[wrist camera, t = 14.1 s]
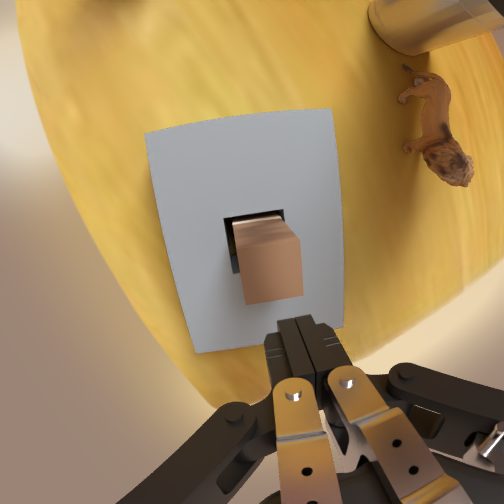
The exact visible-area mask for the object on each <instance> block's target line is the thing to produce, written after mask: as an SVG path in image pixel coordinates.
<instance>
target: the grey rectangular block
mask: <svg viewBox="0 0 504 504" xmlns="http://www.w3.org/2000/svg"><path fill="white" fill-rule="evenodd" d="M145 141H146V147H147V154H148V160H149V166H150V172H151V177H152V183H153V188H154V193H155V198H156V203H157V208H158V213H159V218H160V223H161V227H162V232H163V236H164V240H165V245H166V249H167V253H168V257H169V261H170V265H171V269H172V273H173V277H174V281H175V284H176V288H177V292H178V295H179V299H180V303H181V306H182V310H183V313H184V316H185V320H186V323H187V326H188V330H189V333H190V336H191V339H192V342H193V346H194V349H195V352H196V354H197V353H205V352H213V351H221V350H228V349H234V348H241V347H247V346H253V345H259V344H264V340H265V337H266V335H267V334H269V333H274V332H278V330H277V320H282V319H288V318H294V317H298V316H303V315H308V314H311V315H312V317H313V319H314V321H315V323H316V324H320V323H325V324H327V325H328V326H330V327H331V328H333V329H337V328H341V327H343V322H344V241H343V218H342V201H341V188H340V176H339V165H338V155H337V146H336V138H335V130H334V123H333V116H332V109H305V110H288V111H276V112H265V113H255V114H247V115H239V116H232V117H225V118H218V119H212V120H206V121H201V122H195V123H190V124H185V125H180V126H175V127H171V128H166V129H162V130H158V131H153V132H149V133H145ZM272 210H275V212H276V213H277V214H278V216H280V217H281V219H282V220H283V221H284V222H285V223H286V224H287V226H288V227H289V228H290V229H291V230H292V231H293V232H294V233H295V235H296V236H297V237H298V238H299V239H300V246H301V260H302V275H303V292H304V296H298V297H293V298H287V299H282V300H276V301H270V302H264V303H258V304H252V305H245V299H244V293H243V287H242V280H241V274H240V269H239V263H238V256H237V255H232V256H231V251H230V245H229V239H228V233H227V227H226V221H225V218H228V217H234V216H240V215H246V214H253V213H259V212H266V211H272Z"/></svg>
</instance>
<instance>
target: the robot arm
mask: <svg viewBox="0 0 504 504" xmlns="http://www.w3.org/2000/svg"><path fill="white" fill-rule="evenodd" d="M368 14H369V19H370V22H371V24H372V26H373V28H374V30H375V31H376V33H377V34H378V35H379V36H380V38H381V39H382V40H383V41H384V42H385V43H386V44H388V45H389V46H390V47H391V48H393V49H394V50H396V51H398V52H400V53H402V54H405V55H409V56H417V55H419V54H422V53H425V52H428V51H432V50H435V49H438V48H441V47H444V46H447V45H450V44H453V43H456V42H459V41H462V40H465V39H469V38H472V37H475V36H477V35H481V34H484V33H488V32H492V31H496V30H499V29H504V0H373V1H372V2H371V3H370V5H369V8H368ZM277 330H278V332H274V333H269V334H267V335H266V337H265V340H264V348H265V354H266V361H267V367H268V372H269V377H270V382H271V387H272V390H271V392H270V394H269V395H268V396H267V397H266V398H265V399H264V400H262V401H260V402H258V403H256V404H254V405H251V406H250V405H248V404H246V403H243V402H230V403H227V404H225V405H223V406H221V407H220V408H219V409H218V410H217V411H216V412H215V413H214V414H213V415H212V416H211V417H210V418H209V419H208V420H207V421H206V422H205V423H204V424H203V425H202V426H201V427H200V428H199V429H198V430H197V431H196V432H195V433H194V434H193V435H192V436H191V437H190V438H189V439H188V440H187V441H186V442H185V443H184V444H183V445H182V446H181V447H180V448H179V449H178V450H177V451H176V452H175V453H173V454H172V455H171V456H170V457H169V458H168V459H167V460H166V461H165V462H164V463H163V464H161V465H160V466H159V467H158V468H157V469H156V470H155V471H154V472H153V473H151V474H150V475H149V476H148V477H147V478H146V479H145V480H144V481H142V482H141V483H140V484H139V485H138V486H136V487H135V488H134V489H133V490H132V491H131V492H129V493H128V494H127V495H126V496H125V497H123V498H122V499H121V500H120V501H118V502H117V503H116V504H227V503H228V502H229V501H230V500H231V498H232V497H233V496H234V495H235V494H236V493H237V492H238V491H239V489H240V488H241V487H242V486H243V484H244V483H245V482H246V481H247V480H248V478H249V477H250V476H251V475H252V473H253V472H254V471H255V470H256V468H257V467H258V466H259V465H260V463H261V462H262V461H263V459H264V457H265V456H267V455H269V454H272V453H274V452H276V451H277V456H278V467H279V480H280V490H279V491H277V492H275V493H273V494H271V495H270V496H268V497H267V498H265V499H264V500H263V501H262V502H260V503H259V504H504V391H503V390H499V389H495V388H491V387H488V386H484V385H481V384H477V383H474V382H470V381H467V380H463V379H460V378H457V377H453V376H450V375H447V374H443V373H440V372H437V371H434V370H431V369H428V368H425V367H421V366H418V365H416V364H412V363H399V364H397V365H395V366H393V367H392V368H391V369H390V371H389V374H382V375H368V374H365V373H364V372H363V371H362V370H361V369H360V368H358V367H355V366H353V365H352V362H351V361H350V359H349V357H348V355H347V353H346V352H345V350H344V348H343V346H342V344H341V343H340V341H339V339H338V337H337V336H336V334H335V332H334V330H333V328H331V327H330V326H328V325H327V324H325V323H320V324H316V323H315V321H314V319H313V317H312V315H311V314H308V315H303V316H298V317H294V318H288V319H282V320H277ZM415 405H417V406H420V407H423V408H425V409H423V408H420V407H417V406H415ZM426 409H428V410H431V411H428V410H426ZM319 410H324V413H325V425H326V428H327V430H328V432H329V434H330V436H331V439H332V441H333V443H334V445H335V447H336V449H337V452H338V454H339V456H340V458H341V461H342V467H343V472H344V473H336V471H335V466H334V461H333V457H332V453H331V448H330V444H329V440H328V436H327V434H326V432H324V431H323V428H322V423H321V419H320V415H319ZM432 411H434V412H437V413H440V414H437V413H434V412H432ZM429 448H431V449H435V450H437V451H440V452H443V453H446V454H449V455H452V456H455V457H459V458H462V459H463V460H464V463H463V462H460V461H457V460H454V459H451V458H449V457H446V456H443V455H441V454H438V453H435V452H431V451H430V450H429Z"/></svg>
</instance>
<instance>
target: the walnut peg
mask: <svg viewBox="0 0 504 504" xmlns="http://www.w3.org/2000/svg"><path fill="white" fill-rule="evenodd" d="M232 219H233V223H232V224H233V230H234V237H235V243H236V250H237V256H238V263H239V269H240V274H241V280H242V287H243V293H244V299H245V305H252V304H258V303H264V302H270V301H276V300H282V299H287V298H293V297H298V296H304V292H303V275H302V260H301V246H300V239H299V238H298V237H297V236H296V235H295V233H294V232H293V231H292V230H291V229H290V228H289V227H288V226H287V224H286V223H285V222H284V221H283V220H282V219H281V217H280V216H278V214H277V213H276V212H275V211H274V210H272V211H266V212H259V213H253V214H246V215H240V216H234V217H232Z"/></svg>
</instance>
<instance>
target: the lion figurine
mask: <svg viewBox="0 0 504 504" xmlns="http://www.w3.org/2000/svg"><path fill="white" fill-rule="evenodd" d="M403 68H404V69H405V70H406V71H407V72H409V73H411V74H415V75H419V76H424V77H417V78H416V79H415V80H414V84H415V86H416V87H415V88H413V87H409V88H408V89H407V90H406V91H404V92H402V93H401V94H400V95H399V96H398V101H399V102H400V103H402V104H405V103H406V102H407V97H408V96H409V95H414V96H417V97H420V98H424V99H425V100H426V103H425V106H424V109H423V112H422V115H421V127H422V132H423V136H422V137H421V138H420V139H418V140H414V141H408V142H406V143H405V144H404V145H403V150H404V152H406V153H410V152H411V149H414V150H417V151H422V152H423V159H424V160H425V161H426V163H427V166H428V167H429V168H430V169H431V170H432V171H433V172H434V173H436V174H437V175H438V176H439V178H440V179H441V180H443V181H446V182H447V183H448V184H450V185H452V186H462V187H468V183H469V182H471V178H472V177H473V175H474V169H473V168H474V167H473V161H472V158H471V156H467V155H465V153H464V152H463V151H462V149H461V147H460V144H459V143H458V142H457V141H455V140H454V138H453V137H452V134H451V132H450V127H449V104H450V100H451V92H450V89H449V87H448V85H447V84H446V83H445V81H444V80H443V79H442V78H441V77H440V76H438V75H437V74H434V73H428V72H418V71H414V70H412V69H411V68H409V67H408V66H407V65H405V64H403ZM427 77H428V78H427ZM429 78H432V80H429Z"/></svg>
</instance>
